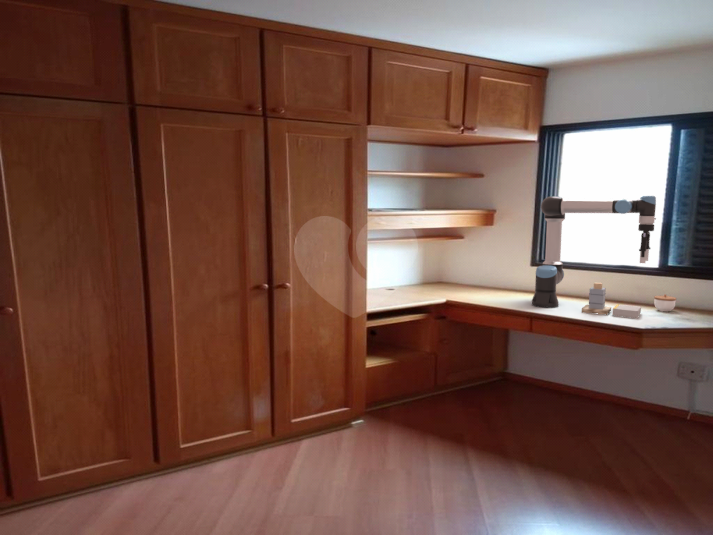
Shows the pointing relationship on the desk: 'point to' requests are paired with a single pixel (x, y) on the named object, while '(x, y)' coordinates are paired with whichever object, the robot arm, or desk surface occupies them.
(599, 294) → the grey stacked container
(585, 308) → the pallet
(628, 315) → the dock
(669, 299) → the lidded jar
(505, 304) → the desk surface
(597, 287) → the parcel
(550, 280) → the robot arm
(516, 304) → the desk surface
